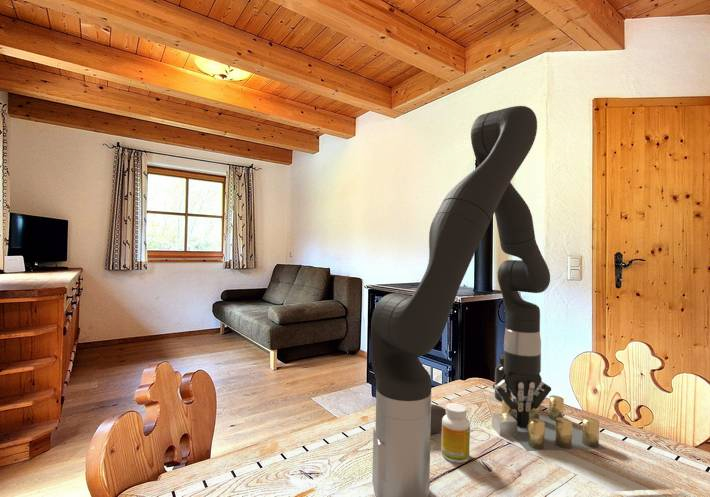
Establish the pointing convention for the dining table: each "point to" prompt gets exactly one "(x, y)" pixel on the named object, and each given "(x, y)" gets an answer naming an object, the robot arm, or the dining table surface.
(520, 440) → the mat
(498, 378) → the supplement bottle
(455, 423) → the supplement bottle
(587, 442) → the spacers
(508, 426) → the white faced textured brick
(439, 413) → the perforated stone tool
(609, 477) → the dining table surface
